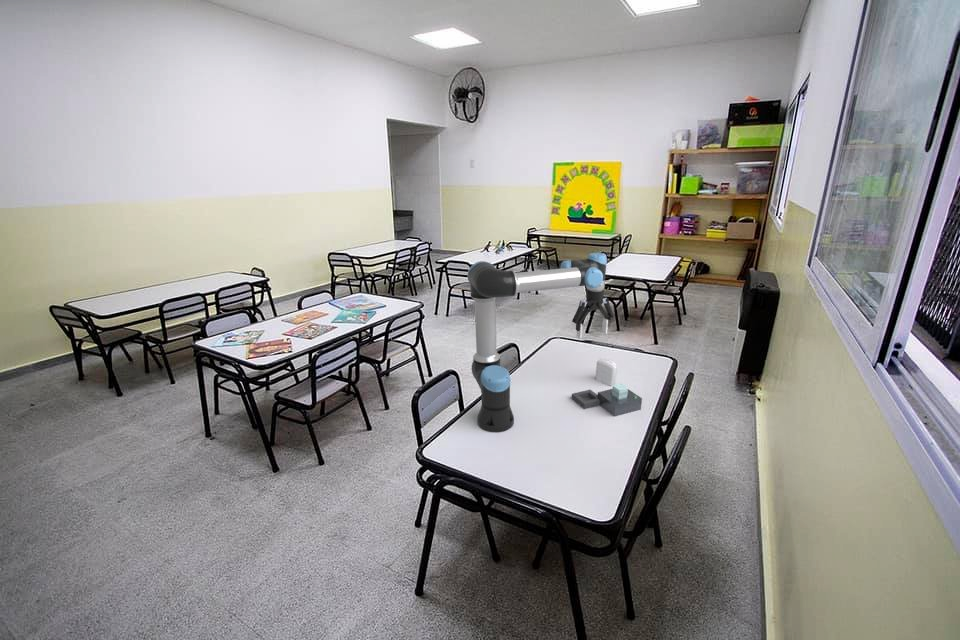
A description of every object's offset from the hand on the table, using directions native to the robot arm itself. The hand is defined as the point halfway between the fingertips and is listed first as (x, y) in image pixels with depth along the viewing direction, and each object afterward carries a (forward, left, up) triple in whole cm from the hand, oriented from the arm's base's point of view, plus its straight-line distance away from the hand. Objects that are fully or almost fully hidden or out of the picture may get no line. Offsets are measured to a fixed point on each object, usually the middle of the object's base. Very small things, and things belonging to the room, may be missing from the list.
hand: (591, 335), depth 195 cm
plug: (+4, -17, -28) cm, 33 cm away
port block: (+4, -17, -29) cm, 34 cm away
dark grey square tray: (-6, -8, -29) cm, 30 cm away
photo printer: (+13, +4, -29) cm, 32 cm away
